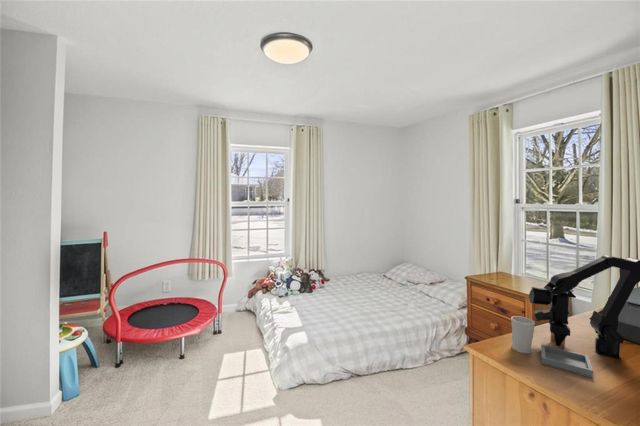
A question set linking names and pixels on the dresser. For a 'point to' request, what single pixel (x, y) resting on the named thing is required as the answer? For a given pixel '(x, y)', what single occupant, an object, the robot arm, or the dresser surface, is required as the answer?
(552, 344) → the block
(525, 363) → the dresser surface
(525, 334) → the cup
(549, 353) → the tray
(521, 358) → the dresser surface
